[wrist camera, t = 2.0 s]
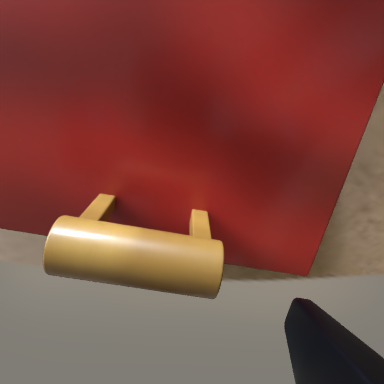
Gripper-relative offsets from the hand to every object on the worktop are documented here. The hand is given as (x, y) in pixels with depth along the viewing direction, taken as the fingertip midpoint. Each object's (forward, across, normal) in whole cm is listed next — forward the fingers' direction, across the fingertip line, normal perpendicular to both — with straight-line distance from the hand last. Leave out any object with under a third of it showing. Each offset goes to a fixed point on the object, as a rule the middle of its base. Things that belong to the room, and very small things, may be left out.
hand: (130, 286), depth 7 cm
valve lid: (+6, 0, -4) cm, 7 cm away
